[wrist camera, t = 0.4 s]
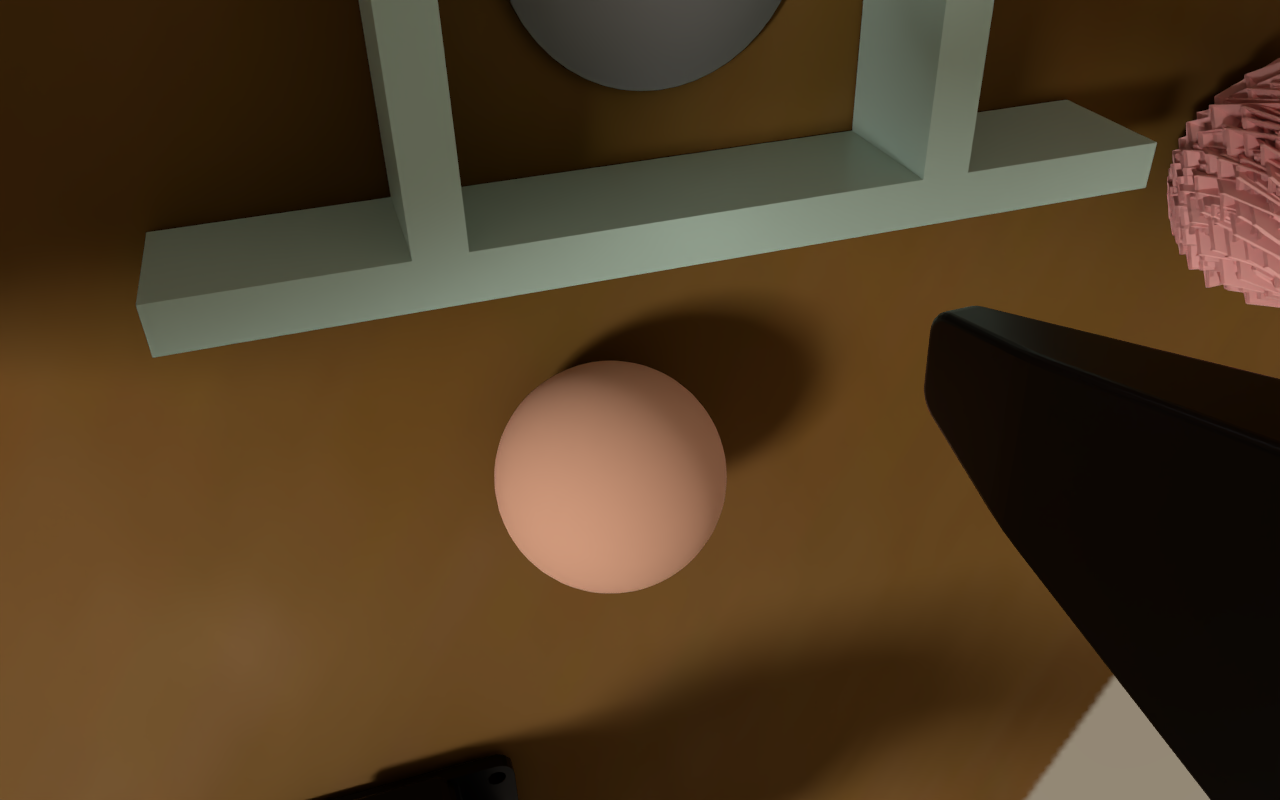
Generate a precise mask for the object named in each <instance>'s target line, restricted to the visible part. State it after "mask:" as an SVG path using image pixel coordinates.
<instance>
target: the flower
mask: <svg viewBox="0 0 1280 800" xmlns="http://www.w3.org/2000/svg"><path fill="white" fill-rule="evenodd" d="M1214 102H1215V104H1212V105H1209V109H1208V110H1204V111H1200V112H1197V120H1194V121H1189V122H1186V136H1185V137H1182V138H1179V139H1178V140H1179V149H1177V150H1174V151H1172V154H1173V164H1170V169H1169V176H1167V184H1168V189H1167V190H1168V193H1167V200H1168V210H1169V219H1170V222H1171V230H1172V236H1173V235H1174V237H1175V241H1176V243H1178V247H1179V254H1180V255H1183V254H1186V256H1187V262H1188V268H1189V270H1191V269H1192V270H1193V269H1200V270H1204V277H1205V285H1206V288H1209V287H1214V286H1218V285H1223V284H1224V289H1227V290H1230V291H1236V292H1243V293H1244V297H1245V302H1246V304H1253V305H1262V306H1271V307H1280V57H1279V58H1278V59H1276V60H1275V61H1273V62H1272V63H1270V64H1269V65H1267V66H1265V67H1264V68H1261V69H1259V70H1256V71H1253V72H1250V73H1247V74H1244V79H1243V80H1241V81H1240V82H1238V83H1236V84H1234V85H1233V86H1231V87H1229V88H1228V89H1226V90H1224V91H1223V92H1221V93H1219V94H1217V95H1216V96H1214Z"/></svg>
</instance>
